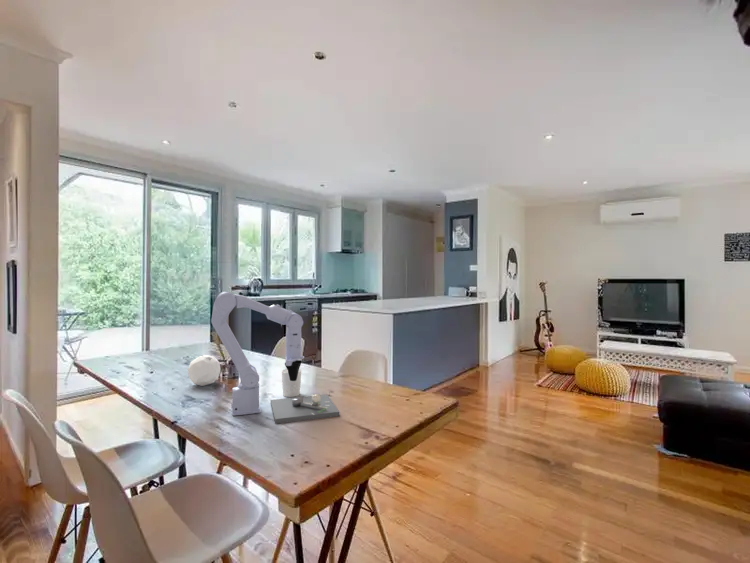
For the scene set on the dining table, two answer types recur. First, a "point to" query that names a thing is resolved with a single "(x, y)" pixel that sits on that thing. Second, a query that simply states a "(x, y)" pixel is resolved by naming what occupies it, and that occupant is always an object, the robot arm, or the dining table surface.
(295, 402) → the peg lever
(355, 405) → the dining table surface
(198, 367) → the geodesic sphere
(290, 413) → the dial board
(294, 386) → the white cup
